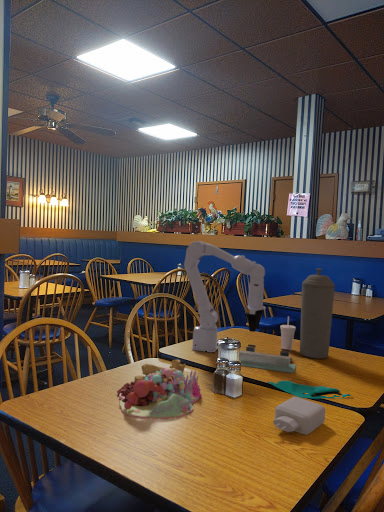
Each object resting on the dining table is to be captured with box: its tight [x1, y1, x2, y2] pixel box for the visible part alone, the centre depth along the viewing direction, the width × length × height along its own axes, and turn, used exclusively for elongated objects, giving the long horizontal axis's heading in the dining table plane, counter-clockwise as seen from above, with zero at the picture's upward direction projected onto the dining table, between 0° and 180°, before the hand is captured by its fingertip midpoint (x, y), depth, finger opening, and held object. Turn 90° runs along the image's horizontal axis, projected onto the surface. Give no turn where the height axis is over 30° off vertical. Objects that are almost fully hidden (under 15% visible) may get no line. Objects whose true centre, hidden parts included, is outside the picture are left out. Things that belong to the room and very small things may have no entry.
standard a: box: [245, 344, 257, 352], centre depth 159 cm, size 5×6×4 cm
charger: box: [272, 396, 326, 436], centre depth 99 cm, size 5×9×15 cm
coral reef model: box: [116, 359, 202, 420], centre depth 112 cm, size 25×24×9 cm
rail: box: [238, 349, 291, 369], centre depth 147 cm, size 18×3×4 cm, turn 72°
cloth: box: [267, 380, 352, 400], centre depth 124 cm, size 26×14×2 cm, turn 56°
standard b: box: [279, 348, 293, 364], centre depth 155 cm, size 5×6×4 cm
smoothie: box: [279, 315, 297, 352], centre depth 170 cm, size 6×6×14 cm
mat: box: [241, 362, 296, 374], centre depth 147 cm, size 22×9×1 cm, turn 72°
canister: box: [299, 268, 336, 360], centre depth 162 cm, size 13×13×35 cm
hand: (254, 329), depth 160 cm, fingers open, 7 cm apart
